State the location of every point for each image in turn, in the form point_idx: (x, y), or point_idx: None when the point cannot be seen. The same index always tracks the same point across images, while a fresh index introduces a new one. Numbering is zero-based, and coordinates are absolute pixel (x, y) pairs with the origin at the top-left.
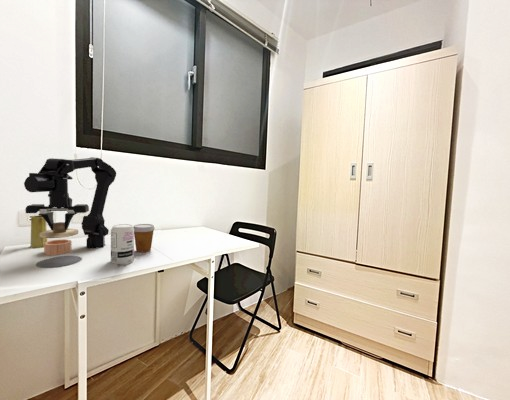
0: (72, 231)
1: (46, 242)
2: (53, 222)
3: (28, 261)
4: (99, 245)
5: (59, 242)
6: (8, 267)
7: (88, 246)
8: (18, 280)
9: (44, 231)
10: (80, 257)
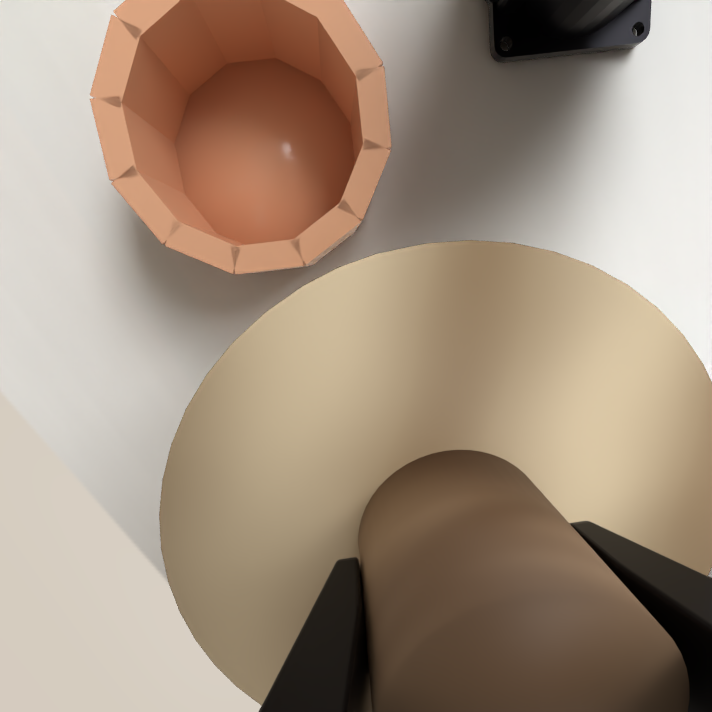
0: (648, 506)
1: (116, 141)
2: (348, 706)
3: (170, 394)
4: (629, 4)
5: (211, 12)
6: (128, 509)
7: (508, 5)
8: None
9: (181, 509)
10: None
